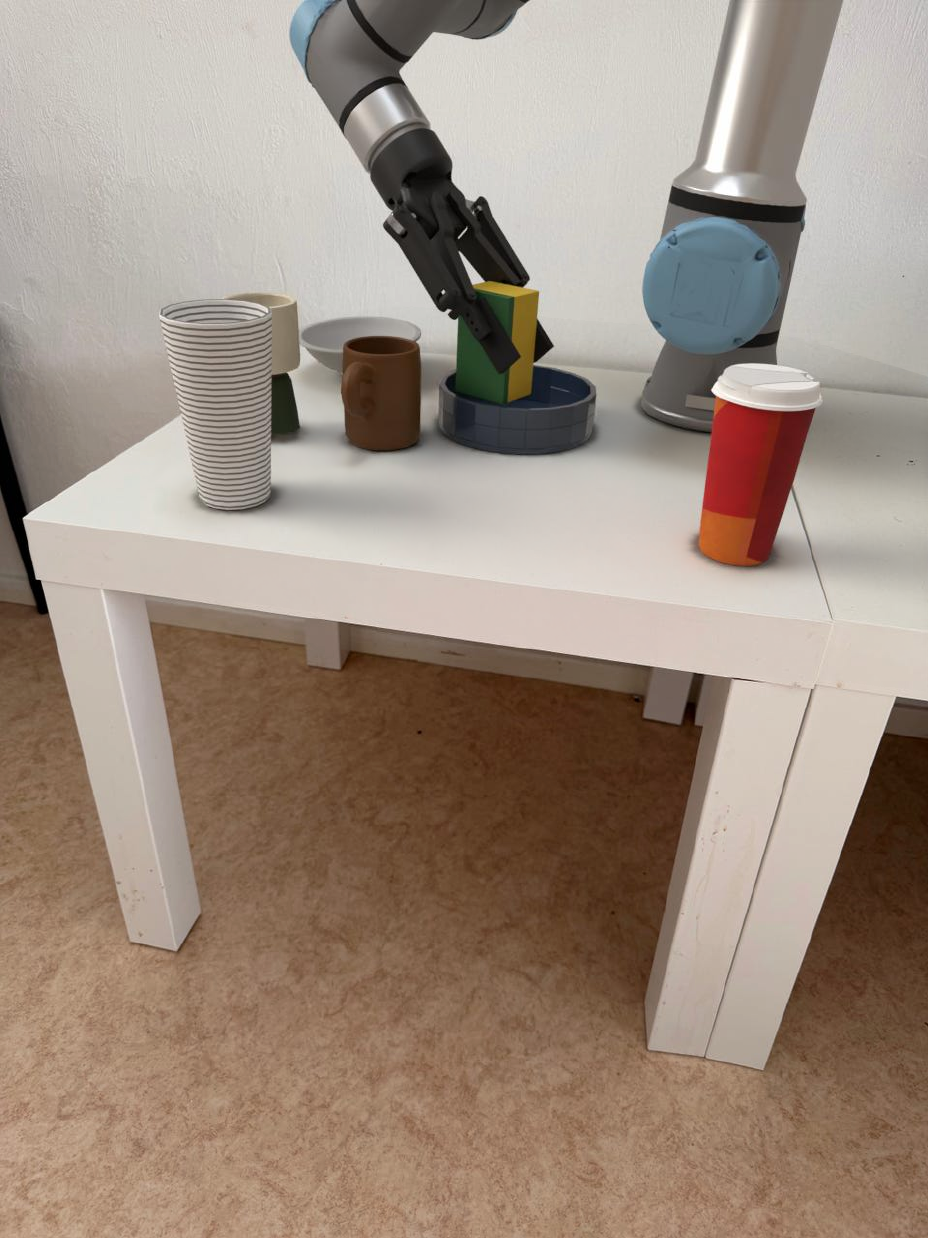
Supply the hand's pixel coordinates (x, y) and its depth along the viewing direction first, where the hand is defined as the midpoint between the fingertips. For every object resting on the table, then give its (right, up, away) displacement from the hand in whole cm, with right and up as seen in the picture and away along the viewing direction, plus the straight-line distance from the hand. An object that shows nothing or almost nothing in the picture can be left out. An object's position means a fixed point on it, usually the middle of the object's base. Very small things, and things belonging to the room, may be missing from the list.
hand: (526, 359), depth 85 cm
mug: (-15, -8, +3) cm, 17 cm away
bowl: (-1, -5, +9) cm, 10 cm away
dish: (-19, +5, +23) cm, 30 cm away
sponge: (-3, -2, +4) cm, 6 cm away
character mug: (-26, -6, +5) cm, 27 cm away
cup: (-26, -15, -9) cm, 31 cm away
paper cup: (+15, -20, -14) cm, 29 cm away
